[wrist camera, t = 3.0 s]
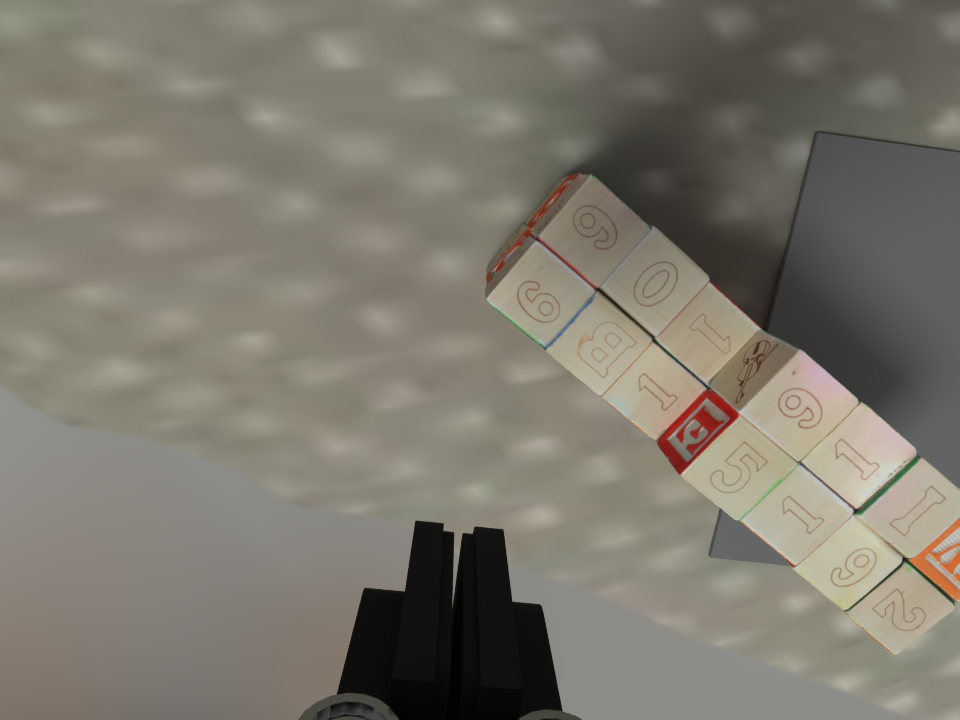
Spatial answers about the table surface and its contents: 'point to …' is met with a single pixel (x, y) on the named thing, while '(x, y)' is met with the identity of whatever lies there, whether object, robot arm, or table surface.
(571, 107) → the table surface
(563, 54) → the table surface
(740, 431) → the stack of blocks
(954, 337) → the mat
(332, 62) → the table surface
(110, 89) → the table surface
